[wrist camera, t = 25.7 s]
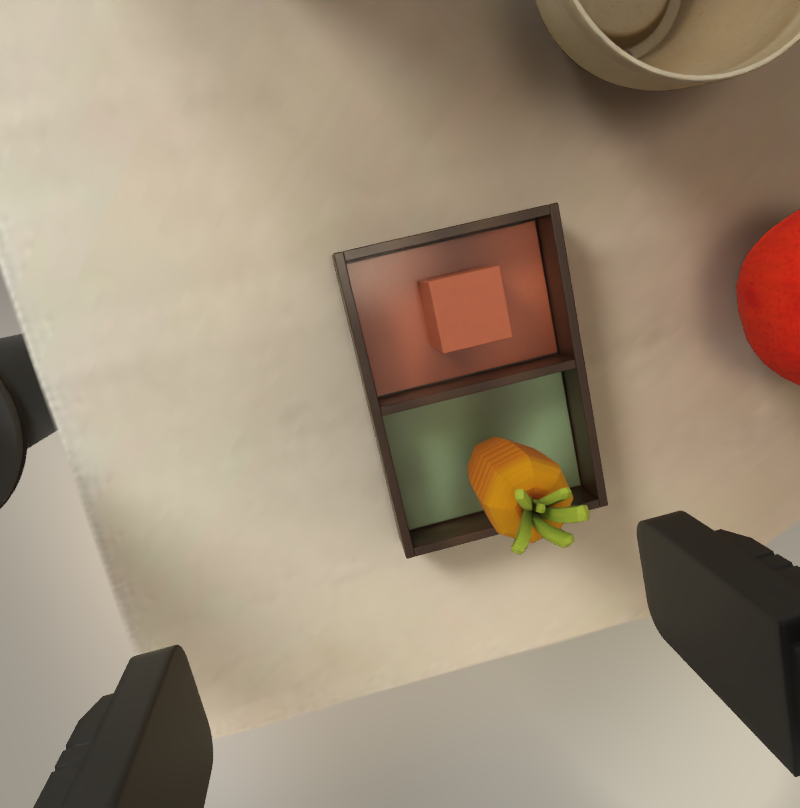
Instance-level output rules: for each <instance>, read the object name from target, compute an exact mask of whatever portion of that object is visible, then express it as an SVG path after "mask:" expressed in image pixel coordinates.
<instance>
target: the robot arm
mask: <svg viewBox="0 0 800 808" xmlns="http://www.w3.org/2000/svg"><path fill="white" fill-rule="evenodd" d="M637 539H638V546H639V552H640V559H641V565H642V571H643V578H644V584H645V590H646V597H647V603H648V607H649V611H650V614H651V617H652V619H653V621H654V624H655V626H656V628H657V630H658V631H659V633H660V634H661V636H662V637H663V638H664V640H665V641H666V642H667V643H668V644H669V645H670V646H671V647H672V648H673V649H674V650H675V651H676V652H677V653H678V654H679V655H680V656H681V657H682V658H683V660H684V661H685V662H687V664H688V665H689V666H690V667H691V668H692V669H693V670H694V671H695V672H696V673H697V674H698V675H699V676H700V677H701V678H702V680H703V681H704V682H705V683H706V684H707V685H708V686H709V687H710V688H711V689H712V690H713V691H714V692H715V693H716V694H717V695H718V696H719V697H720V698H721V699H722V700H723V702H724V703H725V704H726V705H727V706H728V707H729V708H730V709H731V710H732V711H733V712H734V713H735V714H736V715H737V716H738V717H739V718H740V719H741V720H742V721H743V723H744V724H745V725H746V726H747V727H748V728H749V729H750V730H751V731H752V732H753V733H754V734H755V735H756V736H757V737H758V738H759V739H760V740H761V741H762V743H763V744H764V745H765V746H766V747H767V748H768V749H769V750H770V751H771V752H772V753H773V754H774V755H775V756H776V757H777V758H778V759H779V760H780V761H781V762H782V763H783V765H784V766H785V767H786V768H787V769H788V770H789V771H790V772H791V773H792V774H793V775H794V776H795V777H797V776H800V567H798V566H793V565H792V562H790V561H788V560H787V559H784V558H783V557H782V556H780V555H778V554H776V555H774V553H773V551H772V550H770V549H769V548H767V547H765V546H764V545H762V544H760V543H759V542H757V541H755V540H754V539H752V538H750V537H746V536H743V535H739V534H736V533H732V532H729V531H725V530H722V529H720V530H716V531H714V530H712V529H711V528H709V527H708V526H706V525H704V524H703V523H701V522H700V521H698V520H697V519H695V518H694V517H692V516H691V515H689V514H687V513H686V512H684V511H677V512H673V513H670V514H666V515H662V516H658V517H655V518H651V519H647V520H644V521H640V522H639V523H638V526H637ZM212 764H213V744H212V736H211V731H210V727H209V723H208V720H207V717H206V714H205V711H204V708H203V705H202V702H201V699H200V696H199V693H198V690H197V686H196V683H195V680H194V677H193V674H192V671H191V668H190V665H189V662H188V659H187V656H186V654H185V652H184V650H183V649H182V647H181V646H179V645H174V646H171V647H167V648H163V649H160V650H156V651H152V652H148V653H145V654H141V655H137V656H134V657H132V658H131V659H130V661H129V663H128V665H127V667H126V669H125V671H124V673H123V675H122V677H121V680H120V681H119V684H118V686H117V688H116V690H115V692H114V693H113V694H110V695H106V696H103V697H102V698H101V699H100V700H99V701H98V702H97V703H96V704H95V705H94V706H93V707H92V708H91V709H90V710H89V711H88V712H87V713H86V714H85V715H84V716H83V717H82V718H81V719H80V720H79V721H78V724H77V725H76V727H75V729H74V731H73V733H72V735H71V737H70V739H69V741H68V742H67V744H66V750H65V751H63V752H62V754H61V756H60V758H59V760H58V762H57V764H56V765H55V771H54V772H52V773H51V775H50V777H49V779H48V781H47V783H46V785H45V787H44V788H43V790H42V792H41V794H40V796H39V798H38V800H37V802H36V804H35V805H34V808H204V804H205V799H206V794H207V789H208V784H209V780H210V775H211V770H212Z"/></svg>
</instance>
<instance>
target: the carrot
mask: <svg viewBox="0 0 800 808" xmlns="http://www.w3.org/2000/svg"><path fill="white" fill-rule="evenodd" d="M468 476H469V481H470V483H471V485H472V487H473V489H474V491H475V493H476V495H477V497H478V500H479V502H480V504H481V506H482V508H483V510H484V511H485V513H486V515H487V517H488V519H489V520H490V522H491V524H492V525H493V527H494V528H495V530H496V531H497V532H498V533H499V534H502V535H505V536H509V537H512V538H515V540H514V543H513V545H512V548H511V551H513V552H515V553H517V554H520V555H521V554H522V553H523V552H524V550H525V549H526V548H527V546H528V543H534V542H536V541H537V540H539V539H541V538H543V537H544V538H545V539H546V540H548V541H550V542H551V543H553V544H555V545H558V546H560V547H563V548H565V547H568V546H570V545H571V544H572V543H573V541H574V536H573V535H572V534H570V533H568V532H565V531H563V530H561V528H562V525H563V523H577V522H582V521H586V520H588V519H589V509H588V507H587V505H578V506H570V505H571V503H572V500H573V495H572V493H571V490H570V488H569V486H568V484H567V482H566V479H565V477H564V475H563V473H562V470H561V468H560V466H559V465H558V463H556V462H555V461H553V460H552V459H550V458H549V457H547V456H546V455H545V454H543V453H541V452H539V451H538V450H536V449H534V448H532V447H529V446H526V445H523V444H520V443H516V442H513V441H510V440H507V439H504V438H500V437H492V438H489V439H487V440H485V441H483V442H481V443H479V444H477V445H476V446H475V447H474V449H473V452H472V455H471V458H470V460H469V463H468Z"/></svg>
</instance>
